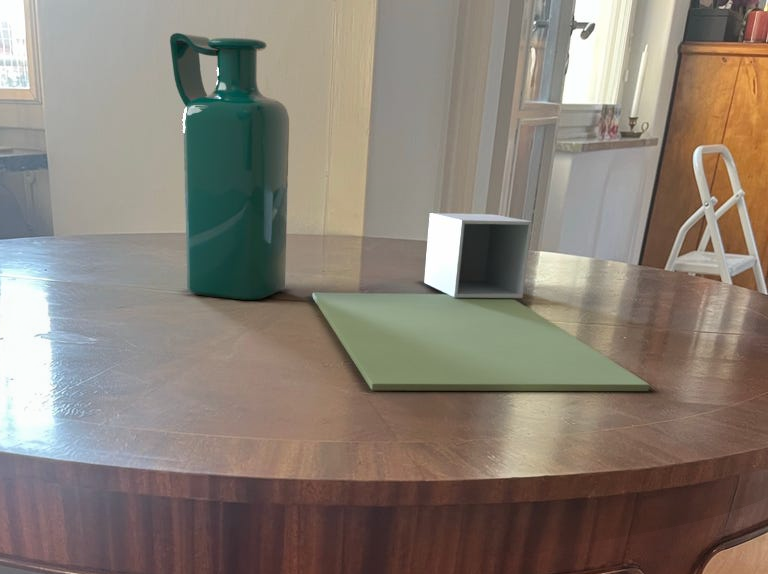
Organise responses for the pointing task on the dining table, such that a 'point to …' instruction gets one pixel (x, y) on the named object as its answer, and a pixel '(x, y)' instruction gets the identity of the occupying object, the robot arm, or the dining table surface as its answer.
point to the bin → (477, 255)
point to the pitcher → (232, 172)
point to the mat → (464, 345)
